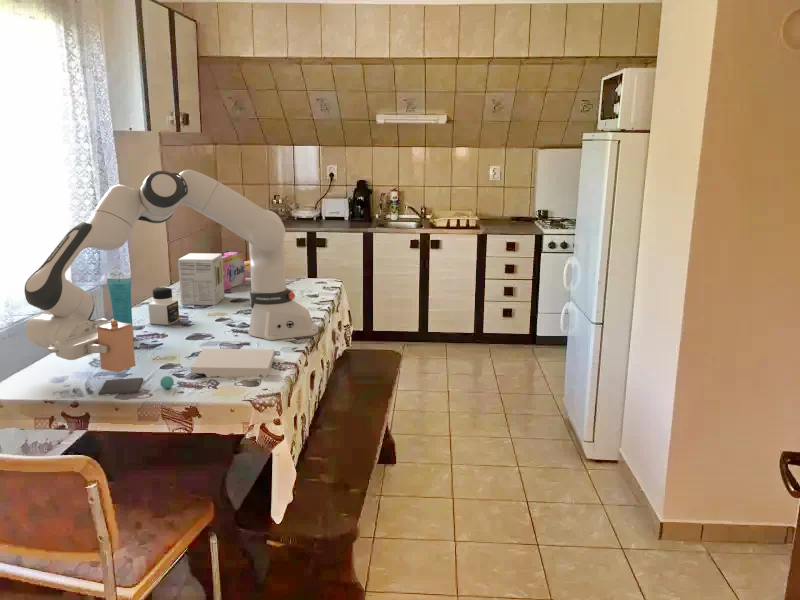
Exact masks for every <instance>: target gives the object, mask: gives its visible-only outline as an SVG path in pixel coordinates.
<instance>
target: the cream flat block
mask: <svg viewBox="0 0 800 600" xmlns="http://www.w3.org/2000/svg"><path fill="white" fill-rule="evenodd" d="M275 352H276V351H275V349H266V348H262V349H259V348H258V349H256V348H255V349H253V348H203V349H202V350H201V352H200V353H199V355H198V356H197V357H196V359H195V360H194V362H193V364H192V365H191V367H190V373H191V374H203V375H205V376H206V378H212V377H213V378H214V377H217V376H219V378H229V377H230V378H240V377H243V378H245V377H247V378H250V377H251V378H255V377H257V378H258V377H268V376H269V375H270V371H271V369H272V365H273V363H274V359H275V356H276V355H275ZM211 376H212V377H211Z"/></svg>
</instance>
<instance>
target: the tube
mask: <svg viewBox="0 0 800 600" xmlns="http://www.w3.org/2000/svg"><path fill="white" fill-rule="evenodd" d="M106 282H107V287H108V291H109V298H110V303H111V311H112V316H113V317H112V318H113V320H118V322H122V323H129V324H132V327H133V313H132V312H133V310H132V278H106Z"/></svg>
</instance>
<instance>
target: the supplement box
mask: <svg viewBox="0 0 800 600" xmlns="http://www.w3.org/2000/svg"><path fill="white" fill-rule="evenodd" d="M177 261H178V262H177V264H178V277H179V278H178V279H179V290H180V291H179V292H180V293H179V294H180V302H181V303H180V304H181V305H196V306H197V305H199V306H200V305H202V306H203V305H204V306H205V305H206V306H215V305H216V304H218V303H219V302H220V301H221V300H222V299H223V298H225V297H226V296H225V290H224V280H223V263H222V254H218V253H212V252H211V253H203V252H202V253H197V252H193V253H192V252H191V253H190V252H189V253H187V254H186V255H183V256H182V257H180V258H178V260H177Z"/></svg>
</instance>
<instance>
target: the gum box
mask: <svg viewBox="0 0 800 600" xmlns="http://www.w3.org/2000/svg"><path fill="white" fill-rule="evenodd" d="M217 254H222V263H223V280H224V291H226V290H229V289H231V288H233V287H236V286H238V285H240V284H243V283H245V282H246V269H245V255H244V254H245V252H244V251H243V250H232V249H231V250H225V251H221V252H219V253H218V252H217Z"/></svg>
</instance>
